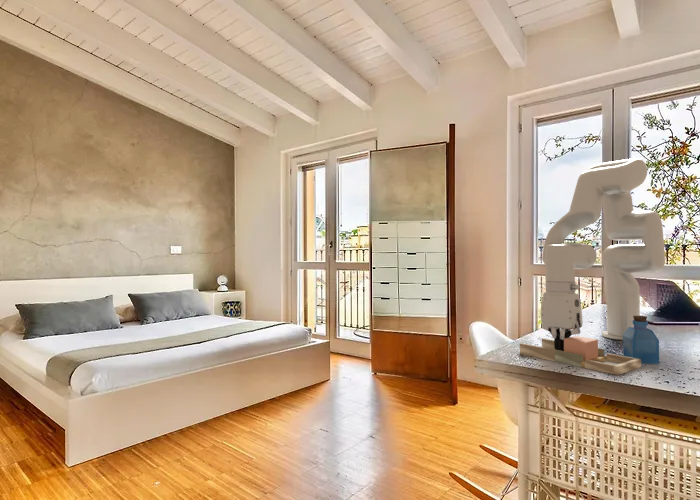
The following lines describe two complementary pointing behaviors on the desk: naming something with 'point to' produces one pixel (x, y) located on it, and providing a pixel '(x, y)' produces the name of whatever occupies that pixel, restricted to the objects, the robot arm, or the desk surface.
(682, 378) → the desk surface
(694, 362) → the desk surface
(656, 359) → the perfume bottle
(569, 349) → the block
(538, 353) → the corridor
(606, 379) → the desk surface
